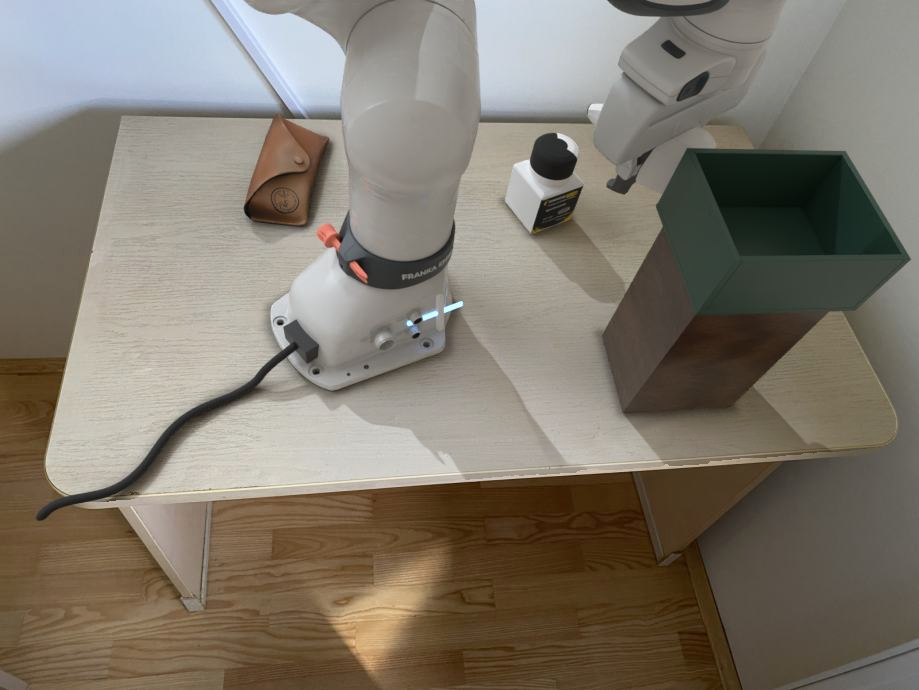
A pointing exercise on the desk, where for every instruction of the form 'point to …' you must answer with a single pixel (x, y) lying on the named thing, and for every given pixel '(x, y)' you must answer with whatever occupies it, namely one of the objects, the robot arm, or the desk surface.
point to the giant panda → (657, 158)
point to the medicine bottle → (546, 183)
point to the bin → (776, 232)
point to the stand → (689, 343)
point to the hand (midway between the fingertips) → (650, 161)
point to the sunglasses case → (285, 174)
